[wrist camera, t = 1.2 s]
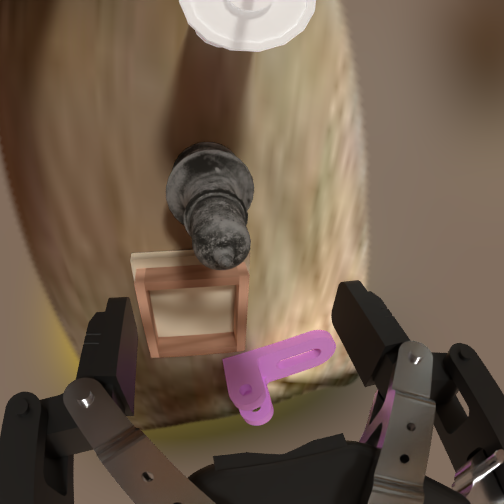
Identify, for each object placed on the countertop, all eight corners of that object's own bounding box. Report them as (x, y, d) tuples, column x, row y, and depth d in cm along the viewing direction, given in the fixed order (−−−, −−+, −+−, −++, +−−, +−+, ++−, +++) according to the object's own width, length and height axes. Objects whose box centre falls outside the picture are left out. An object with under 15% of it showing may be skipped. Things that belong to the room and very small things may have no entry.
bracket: (235, 382, 39) (245, 429, 33) (222, 358, 36) (231, 408, 30) (332, 350, 39) (353, 393, 33) (330, 322, 36) (353, 368, 30)
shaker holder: (131, 253, 26) (127, 274, 24) (248, 246, 28) (254, 266, 26) (149, 341, 32) (148, 363, 30) (243, 334, 34) (248, 356, 31)
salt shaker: (211, 223, 26) (233, 331, 16) (152, 182, 23) (133, 279, 14) (260, 169, 25) (317, 253, 15) (201, 122, 22) (218, 174, 12)
